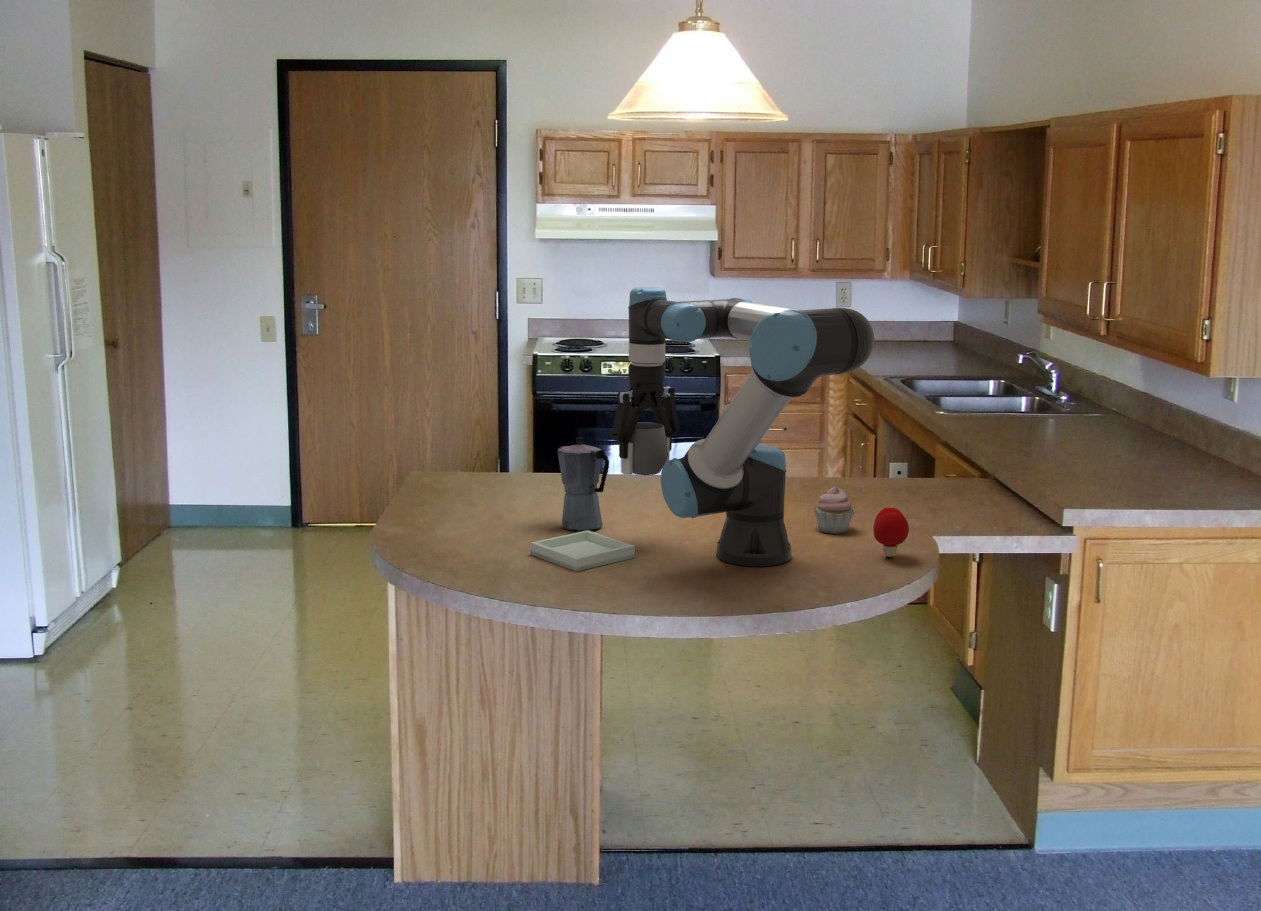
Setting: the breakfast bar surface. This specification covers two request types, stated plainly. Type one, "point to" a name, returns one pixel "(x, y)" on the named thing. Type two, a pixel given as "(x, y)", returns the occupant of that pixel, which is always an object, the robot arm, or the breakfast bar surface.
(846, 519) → the cupcake
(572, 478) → the moka pot
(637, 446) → the cup
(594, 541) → the tray
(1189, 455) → the breakfast bar surface
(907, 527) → the light bulb
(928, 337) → the breakfast bar surface
